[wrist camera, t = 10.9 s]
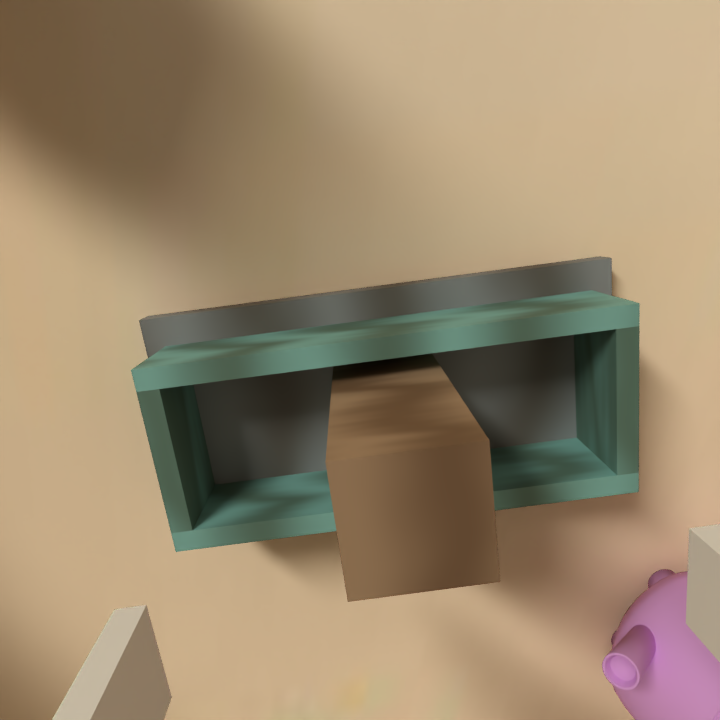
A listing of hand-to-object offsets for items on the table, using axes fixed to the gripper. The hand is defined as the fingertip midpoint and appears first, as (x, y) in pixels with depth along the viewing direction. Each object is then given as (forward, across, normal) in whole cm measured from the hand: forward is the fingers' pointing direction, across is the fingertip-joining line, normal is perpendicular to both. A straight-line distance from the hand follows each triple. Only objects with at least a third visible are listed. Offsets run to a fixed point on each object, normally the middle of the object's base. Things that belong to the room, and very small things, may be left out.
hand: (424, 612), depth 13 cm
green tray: (+17, +1, 0) cm, 17 cm away
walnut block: (+16, +1, 0) cm, 16 cm away
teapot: (+17, +16, -17) cm, 29 cm away
